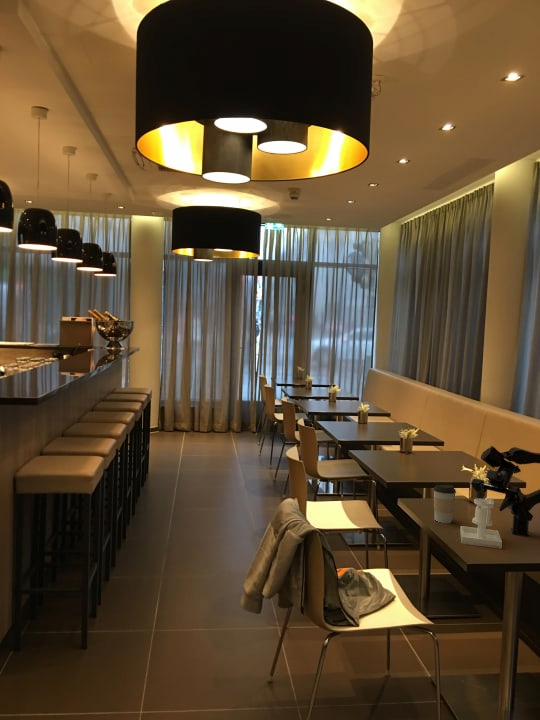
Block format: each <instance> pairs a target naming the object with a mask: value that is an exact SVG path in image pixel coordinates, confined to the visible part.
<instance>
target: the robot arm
mask: <svg viewBox="0 0 540 720" xmlns="http://www.w3.org/2000/svg"><path fill="white" fill-rule="evenodd" d="M480 460H481V461H483V462H484V463H485V464H487V465H488V466H489V467H491V468H492V469H487V471H486V475H485V479H488V481H487V482H488V483H489V484H487V483H486V482H485V480H484V479H480V478H475V477H474V478H473V479H472V480H471V485H472V487H473V489H474V491H475V492H476V498H475V499H484V497H485V496H486V492H487V491H491V492H495V493H498V494H504V495H505V497H504V498H503V500H502V502H501V505H500V506H499V508H498V509H499V512H503V511H504V510H506V509H508V510H510V513H511V514H512V515H513V517H512V527H510V531H511V534H512V535H518V536H525V537H531V534H530V530H529V529H530V528H529V525H530V522H531V521H532V520H533V518H534V515H533V514H532V513H531V512H530V511H531V510H532V509H533V508H534V506H536V505H538V504H540V488H539V489H537V490H535V491H532V492H530V493H527V494H525V493H523V492H522V490H521V488H520V487H517V486H513V485H511V484H512V482H511V479H512V477H513V475H514V474H515V475H516V474H519V473H521V471H522V470H521V468H520V467H519V465H530V464H540V452H533V451H530V450H526V449H523V448H520V447H517V446H513V447H511V448H510V449H509V450H505V451H503V452H500V451H499V450H497V448H496V447H494V446H493V445H491V446H490V447H488V448H487V449H486V450H483V452H482V453H481V456H480ZM514 463H515V464H516V465H515V464H514ZM495 468H496V469H497V470H493V469H495ZM475 505H476V506H477V504H475Z"/></svg>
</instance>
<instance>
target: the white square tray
mask: <svg viewBox="0 0 540 720" xmlns="http://www.w3.org/2000/svg"><path fill="white" fill-rule="evenodd" d="M477 528H478V527H471V526H464V525H460V530H459V531H460V532H459V533H460V540H461V544H464V545H470V546H477V547H478V546H479V547H484V548H485V547H486V548H493V549H500V550H501V549H502V546H503V541H502V537H501V536H500V533H499V530H496V529H495V530H494V529H488V528H486V536H485V539H481V538H477Z"/></svg>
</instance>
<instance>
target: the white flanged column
mask: <svg viewBox="0 0 540 720" xmlns="http://www.w3.org/2000/svg"><path fill="white" fill-rule="evenodd" d="M494 500H495V499H494V498H493V497H485V498H483V499H476V498H474V499H473V503H474V504H475V505H476V504H477V505H476V506H475V511H474V517H473V518H472V521H471V522H472V523H473V524H475V525H477V527H476V528H477V538H481V539H485V536H486V529H487V527H492V526H493V521H492V510H491V509H493V508H494V507H495V501H494Z"/></svg>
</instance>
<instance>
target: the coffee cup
mask: <svg viewBox="0 0 540 720" xmlns="http://www.w3.org/2000/svg"><path fill="white" fill-rule="evenodd" d="M456 493H457V491H456V488H455V487H454V485H452V484H448V483H439V482H437V483H436V484H435V486H434V487H433V511H434V521H435V520H436V521H438V522H437V523H439V522H441V523H440V524H451V523H452V521H453V515H454V508H455V503H456ZM436 521H435V522H436Z"/></svg>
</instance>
